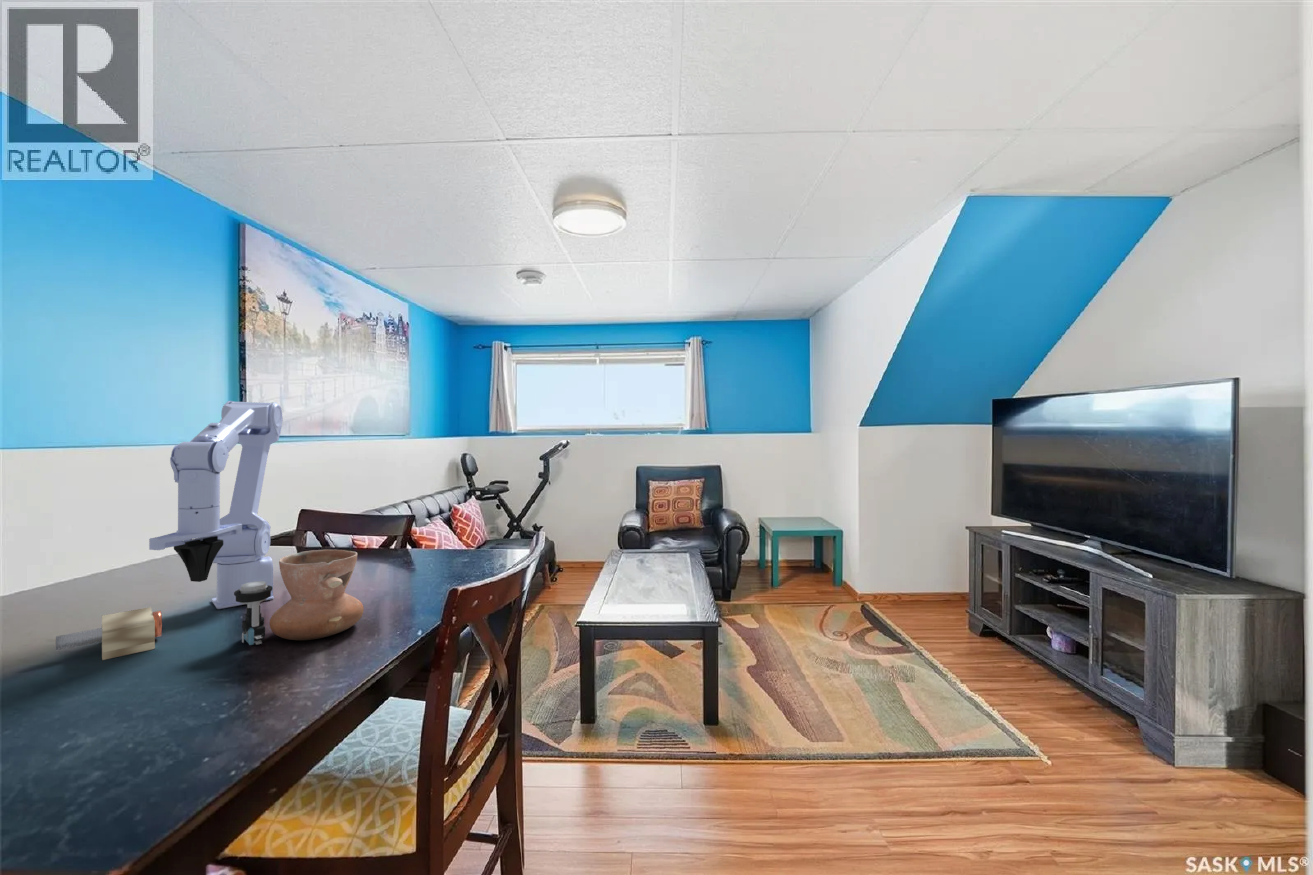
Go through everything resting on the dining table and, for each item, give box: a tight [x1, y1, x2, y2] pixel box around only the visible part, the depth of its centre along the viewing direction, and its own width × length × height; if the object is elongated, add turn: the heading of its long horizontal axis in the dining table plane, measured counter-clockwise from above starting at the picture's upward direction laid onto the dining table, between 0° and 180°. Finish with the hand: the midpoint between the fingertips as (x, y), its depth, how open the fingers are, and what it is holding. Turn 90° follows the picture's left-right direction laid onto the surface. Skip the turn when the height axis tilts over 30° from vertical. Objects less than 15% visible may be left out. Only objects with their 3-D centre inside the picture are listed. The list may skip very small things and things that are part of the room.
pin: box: [55, 610, 163, 651], centre depth 86 cm, size 12×4×4 cm, turn 138°
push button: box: [234, 581, 274, 646], centre depth 89 cm, size 7×5×10 cm
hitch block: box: [101, 606, 156, 661], centre depth 87 cm, size 6×10×5 cm, turn 48°
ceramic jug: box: [269, 549, 365, 641], centre depth 95 cm, size 18×14×14 cm
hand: (198, 580), depth 94 cm, fingers closed
